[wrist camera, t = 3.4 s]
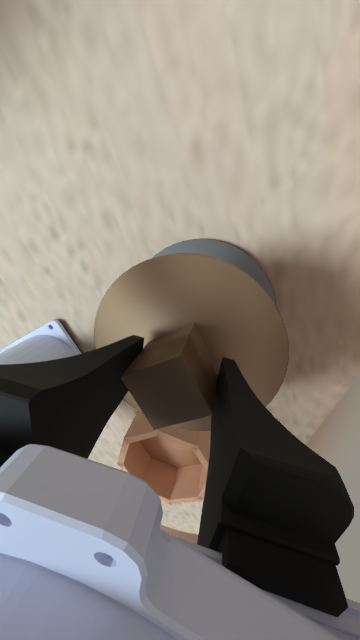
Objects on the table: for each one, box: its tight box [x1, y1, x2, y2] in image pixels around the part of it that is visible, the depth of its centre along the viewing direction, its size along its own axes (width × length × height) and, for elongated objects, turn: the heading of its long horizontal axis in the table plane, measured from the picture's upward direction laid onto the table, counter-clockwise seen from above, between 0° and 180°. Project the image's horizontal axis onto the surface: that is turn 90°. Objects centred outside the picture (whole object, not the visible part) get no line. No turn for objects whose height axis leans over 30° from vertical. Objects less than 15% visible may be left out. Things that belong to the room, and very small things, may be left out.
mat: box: [152, 239, 276, 306], centre depth 19 cm, size 12×12×1 cm
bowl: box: [117, 411, 211, 504], centre depth 23 cm, size 9×9×4 cm
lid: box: [94, 253, 289, 431], centre depth 12 cm, size 11×11×4 cm
